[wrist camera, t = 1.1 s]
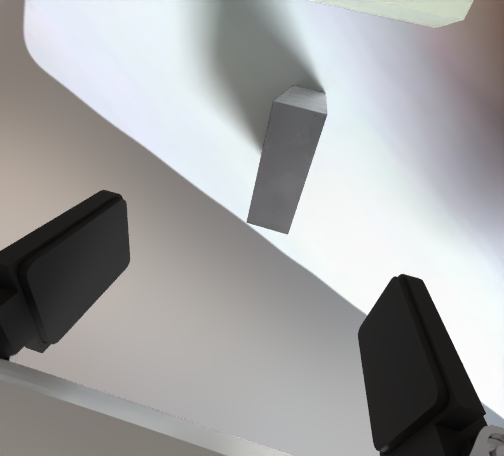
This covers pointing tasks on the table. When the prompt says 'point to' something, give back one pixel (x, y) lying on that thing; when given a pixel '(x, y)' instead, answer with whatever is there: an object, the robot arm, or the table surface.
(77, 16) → the table surface
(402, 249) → the table surface
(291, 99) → the brushed metal pillar
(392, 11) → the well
